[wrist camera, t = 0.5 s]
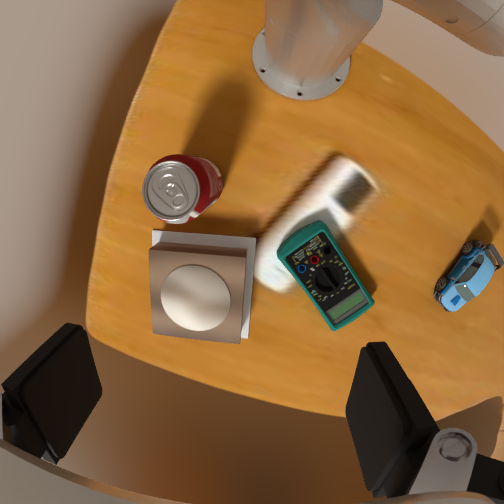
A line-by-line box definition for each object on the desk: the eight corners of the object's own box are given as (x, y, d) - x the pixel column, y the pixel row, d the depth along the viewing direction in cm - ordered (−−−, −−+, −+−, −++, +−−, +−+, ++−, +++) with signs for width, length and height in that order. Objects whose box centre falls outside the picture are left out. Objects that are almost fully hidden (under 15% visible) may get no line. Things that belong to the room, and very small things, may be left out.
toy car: (427, 291, 41) (444, 306, 36) (471, 233, 38) (492, 241, 33) (444, 310, 42) (461, 326, 36) (486, 255, 39) (506, 265, 34)
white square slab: (152, 230, 40) (152, 230, 39) (256, 237, 39) (256, 238, 39) (156, 327, 44) (156, 327, 43) (248, 337, 44) (247, 338, 43)
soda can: (203, 147, 36) (178, 138, 25) (234, 189, 38) (221, 199, 26) (162, 178, 38) (123, 184, 26) (191, 219, 39) (163, 241, 28)
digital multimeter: (317, 215, 39) (322, 218, 36) (371, 297, 42) (378, 306, 39) (272, 247, 40) (273, 253, 37) (330, 325, 43) (334, 335, 40)
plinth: (159, 241, 40) (148, 250, 36) (247, 248, 40) (245, 258, 36) (161, 320, 43) (152, 334, 39) (241, 329, 43) (239, 344, 39)
